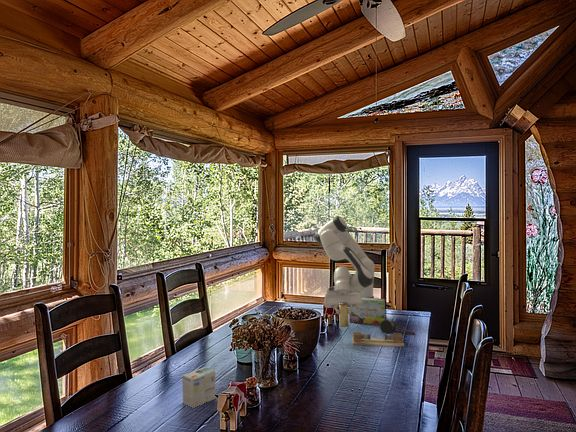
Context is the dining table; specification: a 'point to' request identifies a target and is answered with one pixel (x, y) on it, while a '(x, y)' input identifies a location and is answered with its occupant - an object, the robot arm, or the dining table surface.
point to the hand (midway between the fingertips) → (343, 313)
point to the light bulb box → (198, 387)
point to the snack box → (369, 311)
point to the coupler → (343, 314)
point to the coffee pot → (391, 327)
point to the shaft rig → (377, 340)
